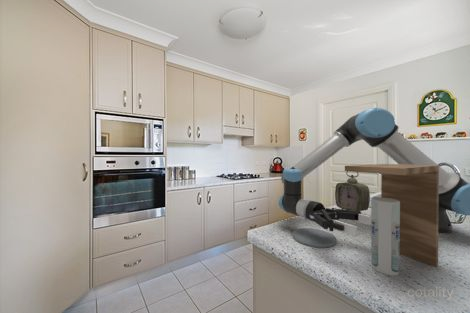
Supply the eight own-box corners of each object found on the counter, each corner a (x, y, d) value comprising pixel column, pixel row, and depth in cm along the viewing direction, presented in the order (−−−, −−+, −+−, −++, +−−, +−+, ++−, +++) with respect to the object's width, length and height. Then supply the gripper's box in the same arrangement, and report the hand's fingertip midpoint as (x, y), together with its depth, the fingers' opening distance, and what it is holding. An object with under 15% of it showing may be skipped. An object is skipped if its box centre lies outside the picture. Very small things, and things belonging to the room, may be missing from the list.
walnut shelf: (383, 246, 70) (383, 163, 70) (438, 265, 58) (438, 165, 58) (344, 265, 58) (344, 165, 58) (403, 294, 46) (403, 168, 46)
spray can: (372, 260, 60) (372, 196, 60) (399, 268, 56) (399, 199, 56) (370, 270, 55) (370, 200, 55) (400, 279, 51) (400, 203, 51)
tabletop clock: (335, 213, 110) (335, 168, 110) (346, 211, 114) (346, 168, 114) (360, 221, 97) (360, 170, 97) (371, 218, 100) (372, 170, 100)
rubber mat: (331, 232, 82) (331, 230, 82) (341, 250, 67) (341, 247, 67) (292, 228, 87) (292, 226, 87) (293, 244, 71) (293, 242, 71)
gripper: (330, 214, 84) (388, 231, 65) (287, 225, 71) (344, 249, 53) (330, 197, 84) (388, 209, 65) (287, 204, 71) (344, 221, 53)
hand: (369, 227), depth 59 cm, fingers open, 13 cm apart
